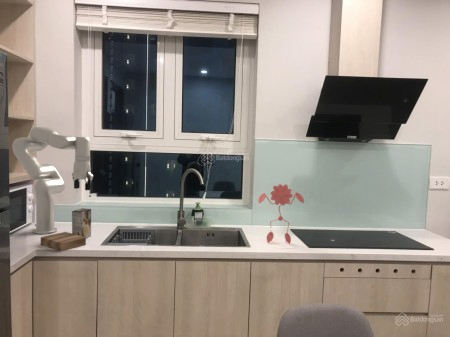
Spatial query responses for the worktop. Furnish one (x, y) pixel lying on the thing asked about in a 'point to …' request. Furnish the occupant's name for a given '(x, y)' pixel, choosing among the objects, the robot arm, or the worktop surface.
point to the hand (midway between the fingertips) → (82, 189)
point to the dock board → (63, 241)
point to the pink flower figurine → (282, 197)
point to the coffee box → (81, 222)
